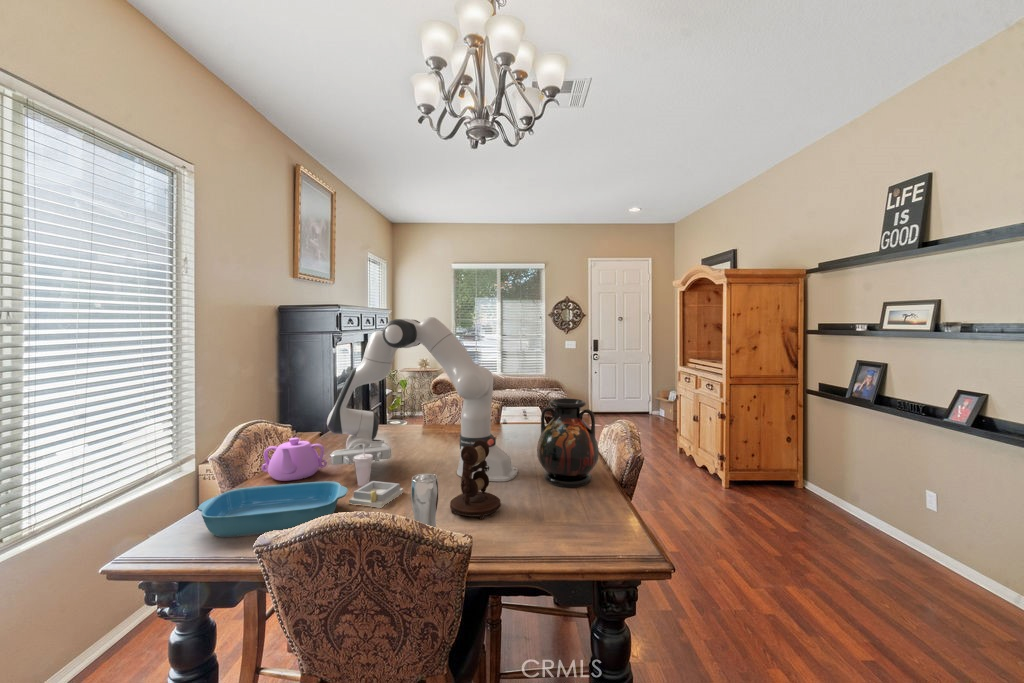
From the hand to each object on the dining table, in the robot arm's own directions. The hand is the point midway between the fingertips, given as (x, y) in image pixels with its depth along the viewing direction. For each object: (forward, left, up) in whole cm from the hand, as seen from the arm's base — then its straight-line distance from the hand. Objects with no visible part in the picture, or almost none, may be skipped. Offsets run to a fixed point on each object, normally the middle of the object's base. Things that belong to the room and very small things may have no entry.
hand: (363, 460), depth 149 cm
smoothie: (+1, -1, -9) cm, 9 cm away
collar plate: (-11, +9, -8) cm, 17 cm away
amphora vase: (-66, -24, -9) cm, 71 cm away
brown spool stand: (-44, +9, -9) cm, 46 cm away
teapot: (+29, 0, -9) cm, 30 cm away
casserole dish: (+7, +31, -9) cm, 32 cm away
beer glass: (-37, +27, -9) cm, 47 cm away
